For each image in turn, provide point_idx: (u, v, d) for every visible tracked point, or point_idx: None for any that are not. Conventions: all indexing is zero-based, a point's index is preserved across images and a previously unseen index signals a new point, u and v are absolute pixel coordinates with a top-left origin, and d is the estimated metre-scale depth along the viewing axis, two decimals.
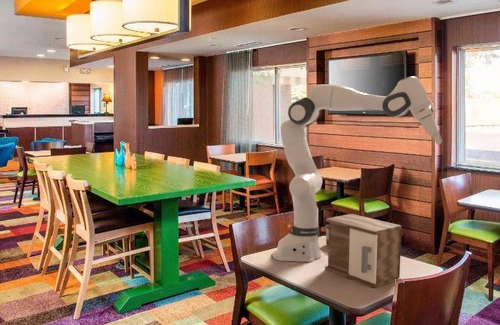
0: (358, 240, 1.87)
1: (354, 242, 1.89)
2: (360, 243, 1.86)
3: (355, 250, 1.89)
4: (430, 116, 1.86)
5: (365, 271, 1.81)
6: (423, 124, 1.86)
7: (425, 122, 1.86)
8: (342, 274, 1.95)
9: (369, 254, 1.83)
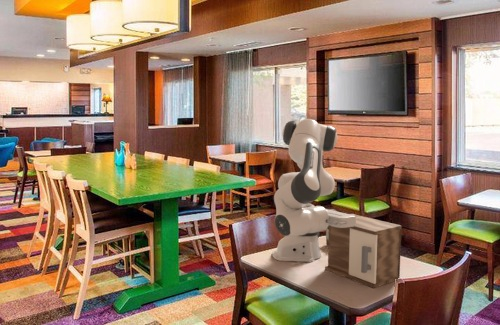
0: (358, 240, 1.87)
1: (354, 242, 1.89)
2: (360, 243, 1.86)
3: (355, 250, 1.89)
4: None
5: (365, 271, 1.81)
6: None
7: None
8: (342, 274, 1.95)
9: (369, 254, 1.83)
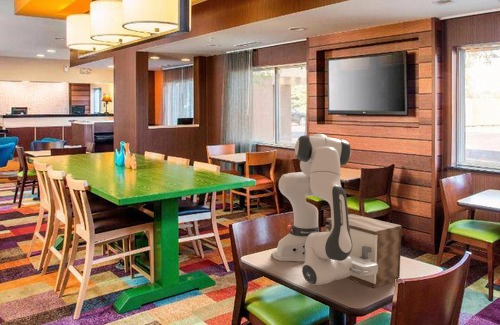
0: (358, 240, 1.87)
1: (354, 242, 1.89)
2: (360, 243, 1.86)
3: (355, 250, 1.89)
4: None
5: None
6: None
7: None
8: None
9: (369, 254, 1.83)
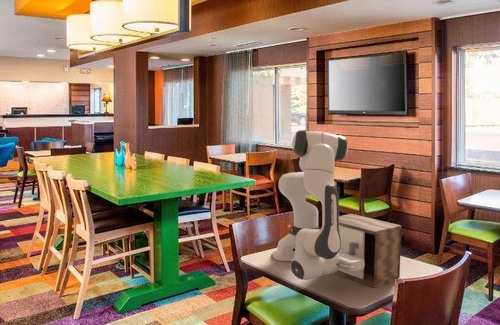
0: (346, 237, 1.92)
1: (342, 238, 1.94)
2: (348, 239, 1.91)
3: (343, 246, 1.94)
4: None
5: None
6: None
7: None
8: (342, 274, 1.95)
9: (357, 250, 1.88)
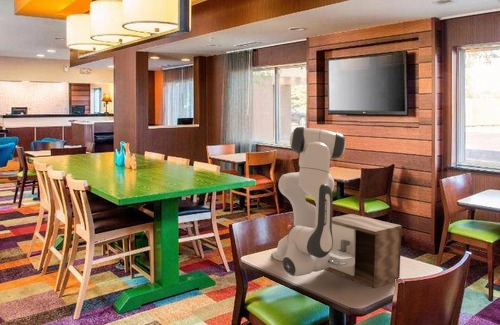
0: (338, 234, 1.96)
1: (334, 236, 1.98)
2: (340, 237, 1.95)
3: (335, 244, 1.97)
4: None
5: None
6: None
7: None
8: (342, 274, 1.95)
9: (348, 247, 1.92)
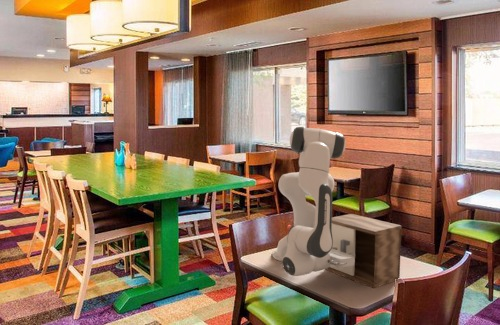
0: (338, 234, 1.96)
1: (334, 236, 1.98)
2: (339, 237, 1.95)
3: (335, 243, 1.98)
4: None
5: None
6: None
7: None
8: (342, 274, 1.95)
9: (348, 247, 1.92)
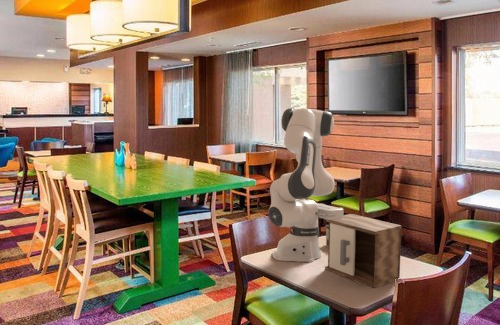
0: (338, 234, 1.96)
1: (334, 236, 1.98)
2: (339, 237, 1.95)
3: (335, 243, 1.98)
4: None
5: (344, 263, 1.90)
6: None
7: None
8: (342, 274, 1.95)
9: (348, 247, 1.92)
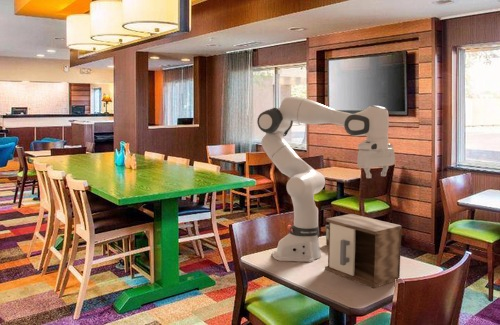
0: (338, 234, 1.96)
1: (334, 236, 1.98)
2: (339, 237, 1.95)
3: (335, 243, 1.98)
4: (366, 151, 1.94)
5: (344, 263, 1.90)
6: (358, 155, 1.97)
7: (360, 154, 1.96)
8: (342, 274, 1.95)
9: (348, 247, 1.92)
